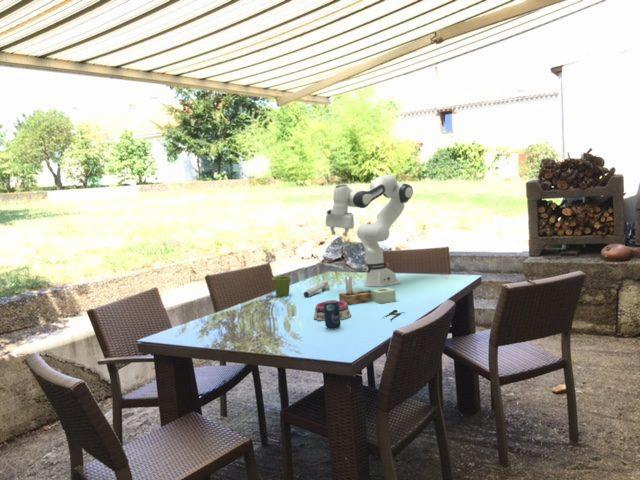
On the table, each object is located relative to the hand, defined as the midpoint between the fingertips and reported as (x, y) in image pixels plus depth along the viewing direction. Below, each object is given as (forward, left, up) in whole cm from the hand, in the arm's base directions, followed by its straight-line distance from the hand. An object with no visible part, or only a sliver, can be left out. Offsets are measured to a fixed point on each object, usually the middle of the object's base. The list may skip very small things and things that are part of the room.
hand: (339, 235), depth 316 cm
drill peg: (+7, +27, -35) cm, 45 cm away
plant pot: (+33, -19, -36) cm, 52 cm away
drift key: (-8, +27, -35) cm, 45 cm away
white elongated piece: (+13, -12, -36) cm, 40 cm away
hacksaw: (+3, +72, -36) cm, 81 cm away
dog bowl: (+27, +52, -36) cm, 69 cm away
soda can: (+34, +72, -36) cm, 87 cm away
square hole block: (-9, +36, -35) cm, 51 cm away
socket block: (+4, +27, -35) cm, 44 cm away
